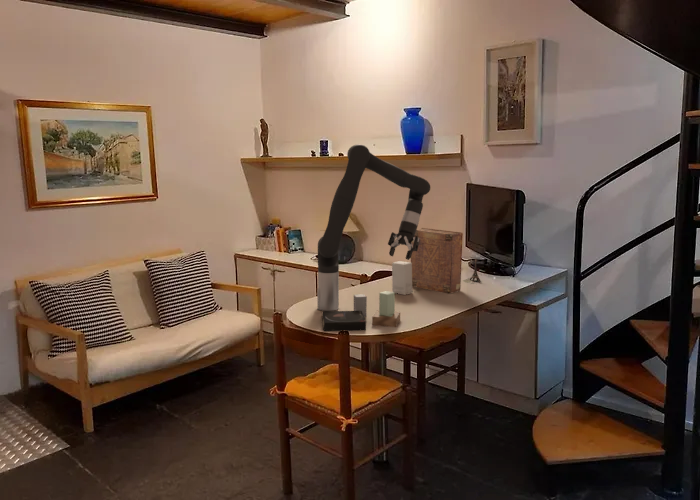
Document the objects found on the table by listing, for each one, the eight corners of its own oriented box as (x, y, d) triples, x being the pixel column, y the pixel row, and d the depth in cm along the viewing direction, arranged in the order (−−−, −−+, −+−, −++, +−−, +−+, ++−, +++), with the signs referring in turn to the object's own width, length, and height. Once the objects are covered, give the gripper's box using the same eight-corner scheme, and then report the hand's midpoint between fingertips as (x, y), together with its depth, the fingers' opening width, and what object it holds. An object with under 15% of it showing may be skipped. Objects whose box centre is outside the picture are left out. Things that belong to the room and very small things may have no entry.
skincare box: (412, 293, 301) (413, 262, 299) (404, 295, 296) (405, 264, 294) (399, 290, 307) (399, 260, 304) (391, 292, 302) (391, 262, 299)
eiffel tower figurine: (471, 278, 339) (472, 254, 337) (488, 280, 333) (489, 256, 331) (459, 282, 327) (460, 258, 325) (477, 285, 321) (478, 260, 319)
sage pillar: (387, 315, 247) (387, 294, 246) (379, 313, 250) (379, 292, 249) (394, 313, 251) (394, 292, 249) (386, 311, 254) (386, 290, 252)
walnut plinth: (372, 326, 247) (372, 316, 247) (376, 319, 257) (377, 309, 256) (396, 327, 245) (396, 317, 244) (400, 321, 255) (400, 311, 254)
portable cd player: (321, 320, 255) (321, 311, 254) (361, 319, 257) (361, 310, 256) (323, 332, 239) (323, 322, 238) (365, 331, 240) (365, 321, 240)
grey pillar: (356, 317, 258) (356, 297, 257) (353, 314, 263) (353, 294, 261) (366, 316, 259) (366, 296, 258) (363, 313, 264) (363, 294, 262)
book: (409, 285, 317) (411, 229, 312) (420, 283, 324) (421, 227, 319) (450, 293, 300) (452, 234, 295) (460, 290, 307) (462, 232, 302)
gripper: (392, 218, 267) (381, 252, 265) (419, 222, 258) (408, 258, 256) (400, 223, 273) (390, 257, 271) (427, 227, 264) (416, 262, 262)
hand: (399, 257), depth 264 cm, fingers open, 8 cm apart
